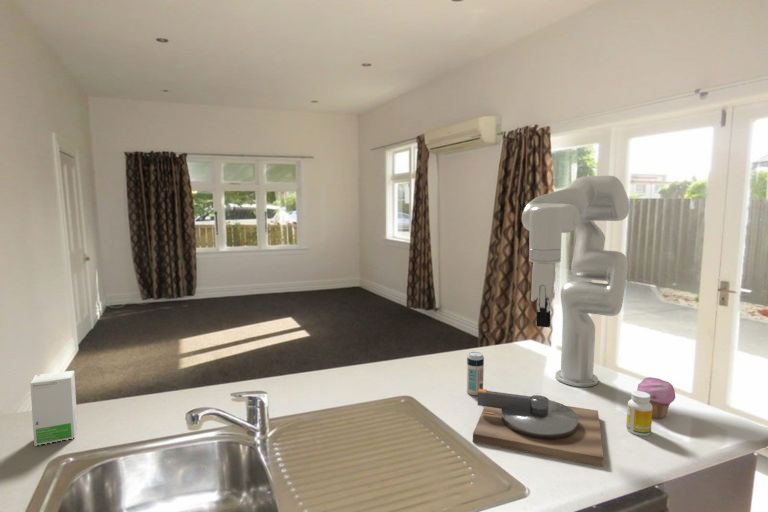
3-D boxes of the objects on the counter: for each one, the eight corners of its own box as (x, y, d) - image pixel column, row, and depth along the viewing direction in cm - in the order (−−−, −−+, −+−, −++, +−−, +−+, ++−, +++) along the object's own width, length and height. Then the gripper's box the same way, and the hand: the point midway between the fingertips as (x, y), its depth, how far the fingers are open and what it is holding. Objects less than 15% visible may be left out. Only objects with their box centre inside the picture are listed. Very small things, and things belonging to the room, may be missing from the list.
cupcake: (635, 405, 128) (637, 370, 127) (672, 412, 124) (675, 376, 123) (635, 418, 120) (638, 382, 119) (675, 426, 116) (677, 388, 115)
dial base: (489, 401, 131) (489, 393, 131) (597, 417, 121) (598, 409, 121) (472, 441, 109) (472, 433, 109) (602, 466, 99) (603, 456, 99)
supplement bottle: (621, 428, 115) (623, 391, 114) (635, 424, 117) (637, 388, 116) (641, 438, 110) (643, 400, 109) (655, 433, 113) (658, 396, 111)
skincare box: (33, 447, 108) (27, 383, 106) (39, 435, 114) (33, 374, 112) (76, 439, 112) (70, 377, 110) (79, 427, 118) (74, 368, 116)
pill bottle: (482, 390, 139) (482, 351, 138) (484, 396, 134) (484, 357, 133) (466, 389, 140) (466, 351, 138) (467, 396, 135) (467, 356, 133)
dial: (576, 410, 120) (577, 389, 119) (579, 444, 103) (580, 419, 103) (482, 397, 128) (483, 377, 128) (472, 427, 112) (472, 404, 111)
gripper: (532, 250, 124) (531, 317, 126) (525, 259, 110) (524, 333, 113) (561, 251, 121) (560, 319, 124) (559, 260, 107) (557, 336, 110)
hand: (543, 325), depth 118 cm, fingers closed
